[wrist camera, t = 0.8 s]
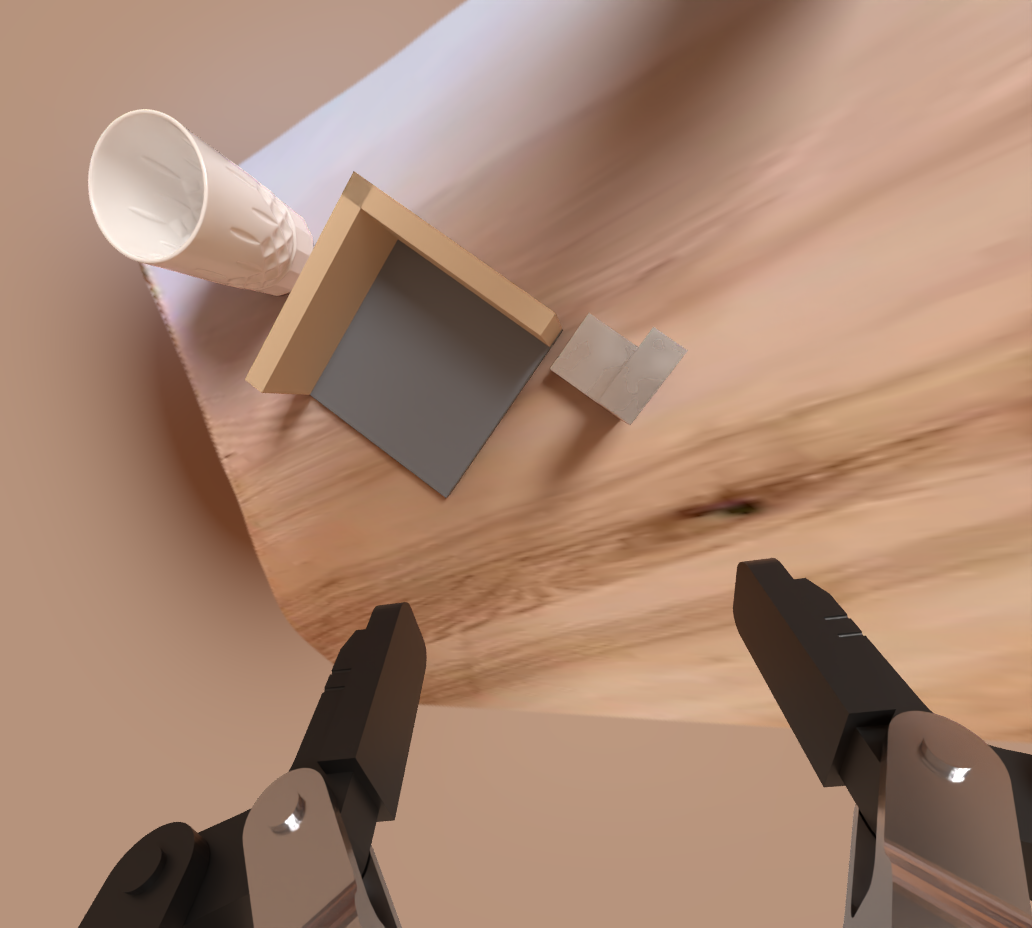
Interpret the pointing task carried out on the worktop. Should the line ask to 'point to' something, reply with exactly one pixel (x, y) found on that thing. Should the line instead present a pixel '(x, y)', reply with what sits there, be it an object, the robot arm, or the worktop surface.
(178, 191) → the white cup
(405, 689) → the robot arm
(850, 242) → the worktop surface
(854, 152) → the worktop surface
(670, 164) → the worktop surface
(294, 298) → the corner tray
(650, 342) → the bracket
